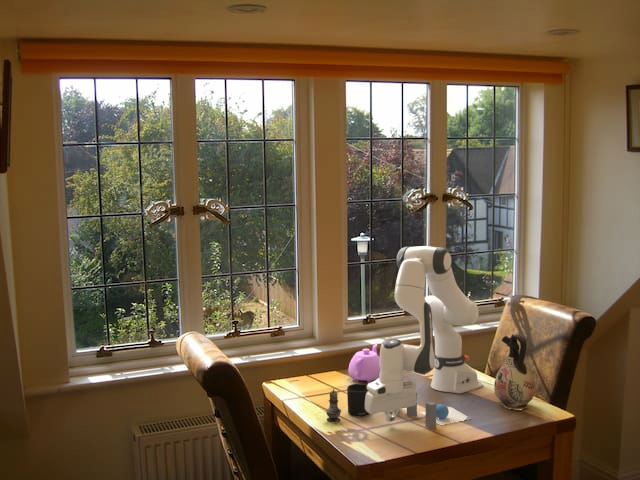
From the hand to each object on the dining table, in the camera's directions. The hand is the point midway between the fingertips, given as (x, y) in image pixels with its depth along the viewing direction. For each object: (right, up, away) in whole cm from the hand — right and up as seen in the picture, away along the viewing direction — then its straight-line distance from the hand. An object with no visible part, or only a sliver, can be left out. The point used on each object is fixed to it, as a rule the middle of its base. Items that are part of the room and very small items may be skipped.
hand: (390, 421), depth 253 cm
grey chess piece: (-21, -2, +7) cm, 22 cm away
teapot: (-5, +4, +54) cm, 54 cm away
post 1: (+9, -1, +11) cm, 15 cm away
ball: (+20, +2, +8) cm, 21 cm away
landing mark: (+22, -1, +10) cm, 24 cm away
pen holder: (-11, -1, +14) cm, 18 cm away
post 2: (+14, -2, 0) cm, 15 cm away
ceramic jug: (+51, 0, +19) cm, 54 cm away
